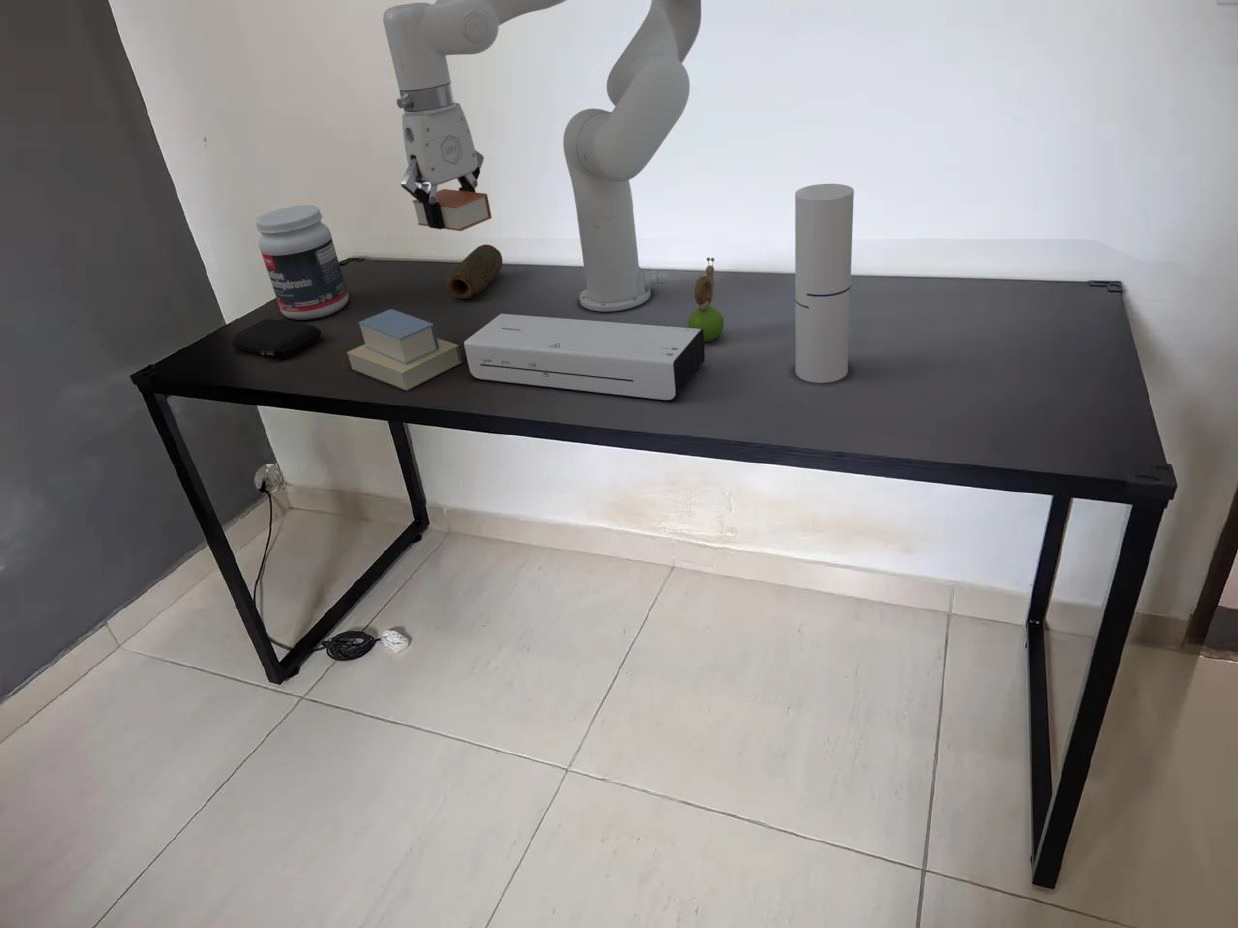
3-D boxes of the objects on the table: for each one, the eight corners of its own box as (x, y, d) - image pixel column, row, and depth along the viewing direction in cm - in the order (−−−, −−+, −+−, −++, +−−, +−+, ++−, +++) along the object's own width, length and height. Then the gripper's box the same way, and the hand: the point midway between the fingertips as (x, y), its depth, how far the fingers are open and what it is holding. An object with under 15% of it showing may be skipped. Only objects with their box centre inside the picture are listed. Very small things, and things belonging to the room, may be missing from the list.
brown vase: (474, 275, 173) (467, 242, 170) (507, 273, 171) (501, 240, 168) (447, 304, 161) (439, 269, 157) (482, 303, 159) (475, 268, 156)
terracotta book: (491, 218, 135) (487, 193, 133) (460, 231, 131) (455, 206, 129) (449, 212, 141) (443, 189, 139) (418, 225, 137) (412, 201, 135)
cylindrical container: (837, 386, 118) (842, 201, 104) (787, 378, 121) (786, 198, 108) (854, 364, 122) (861, 185, 109) (806, 356, 126) (807, 182, 113)
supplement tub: (270, 324, 162) (236, 227, 152) (302, 298, 173) (273, 206, 163) (332, 322, 160) (302, 223, 150) (362, 295, 170) (335, 201, 160)
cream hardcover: (462, 362, 138) (458, 345, 136) (406, 390, 131) (402, 372, 130) (406, 343, 147) (402, 327, 145) (351, 369, 140) (346, 352, 139)
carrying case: (224, 354, 152) (282, 365, 145) (218, 338, 150) (276, 348, 143) (271, 330, 159) (328, 339, 153) (266, 314, 158) (323, 323, 151)
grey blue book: (439, 350, 136) (433, 323, 133) (406, 365, 132) (399, 338, 130) (397, 333, 143) (391, 308, 141) (365, 347, 140) (358, 322, 137)
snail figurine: (731, 331, 136) (728, 257, 130) (717, 348, 132) (713, 273, 125) (698, 329, 139) (694, 256, 132) (684, 345, 134) (678, 271, 128)
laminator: (470, 379, 132) (462, 342, 129) (511, 345, 141) (504, 310, 138) (678, 403, 118) (674, 362, 115) (708, 364, 128) (705, 325, 124)
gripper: (398, 113, 119) (428, 241, 128) (488, 87, 130) (510, 206, 139) (364, 112, 123) (396, 235, 132) (454, 87, 134) (478, 202, 143)
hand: (454, 219), depth 136 cm, fingers closed on terracotta book, 6 cm apart
